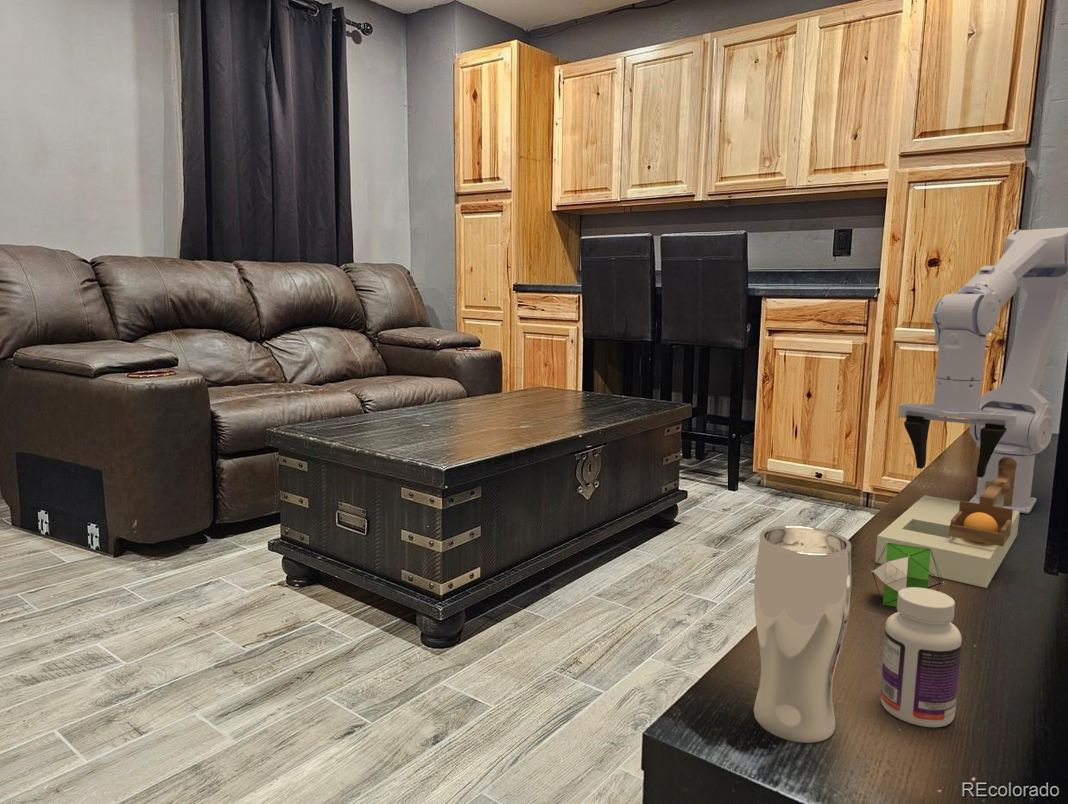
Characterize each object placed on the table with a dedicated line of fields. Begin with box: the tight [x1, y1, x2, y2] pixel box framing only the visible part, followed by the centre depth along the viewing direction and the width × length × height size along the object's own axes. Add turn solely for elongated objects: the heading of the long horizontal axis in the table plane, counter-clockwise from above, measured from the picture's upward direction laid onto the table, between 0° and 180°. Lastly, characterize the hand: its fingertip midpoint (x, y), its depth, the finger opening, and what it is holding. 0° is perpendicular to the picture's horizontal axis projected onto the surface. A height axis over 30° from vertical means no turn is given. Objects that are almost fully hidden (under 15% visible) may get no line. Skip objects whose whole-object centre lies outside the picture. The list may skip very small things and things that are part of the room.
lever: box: [949, 457, 1017, 546], centre depth 93 cm, size 22×6×7 cm, turn 139°
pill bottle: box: [880, 587, 962, 728], centre depth 57 cm, size 5×5×10 cm
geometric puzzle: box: [870, 542, 945, 608], centre depth 77 cm, size 7×7×8 cm
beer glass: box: [753, 525, 852, 744], centre depth 56 cm, size 7×7×15 cm
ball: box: [963, 512, 998, 533], centre depth 87 cm, size 4×4×4 cm
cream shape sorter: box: [875, 494, 1020, 589], centre depth 94 cm, size 24×12×7 cm, turn 139°
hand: (950, 471), depth 104 cm, fingers open, 7 cm apart
